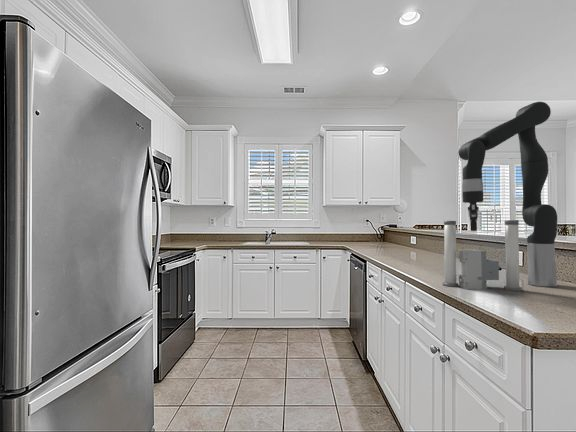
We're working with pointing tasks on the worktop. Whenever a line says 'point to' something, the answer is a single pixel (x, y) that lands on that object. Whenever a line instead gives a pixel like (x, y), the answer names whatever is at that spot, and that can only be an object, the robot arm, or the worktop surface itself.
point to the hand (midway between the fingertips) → (473, 230)
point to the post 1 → (450, 253)
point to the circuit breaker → (477, 269)
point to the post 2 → (512, 255)
